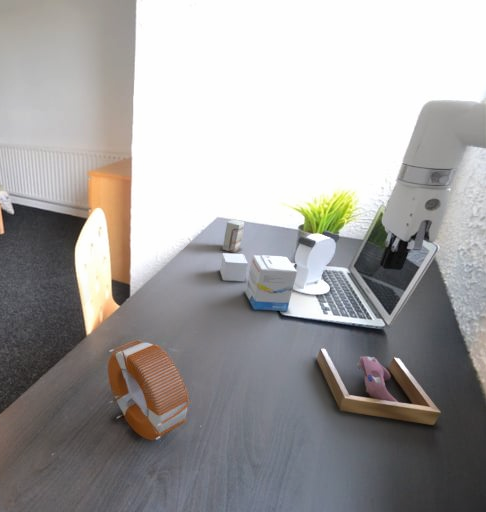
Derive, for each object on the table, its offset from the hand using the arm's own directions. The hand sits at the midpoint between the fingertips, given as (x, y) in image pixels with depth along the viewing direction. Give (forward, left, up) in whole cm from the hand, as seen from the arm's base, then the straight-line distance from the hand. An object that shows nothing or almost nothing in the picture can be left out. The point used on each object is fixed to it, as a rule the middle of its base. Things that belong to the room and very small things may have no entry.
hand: (390, 267), depth 73 cm
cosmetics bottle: (+22, -47, -19) cm, 55 cm away
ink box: (+17, -14, -19) cm, 29 cm away
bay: (+4, +14, -19) cm, 24 cm away
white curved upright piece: (+4, -26, -19) cm, 33 cm away
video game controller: (+3, +15, -19) cm, 24 cm away
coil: (+45, +31, -19) cm, 58 cm away
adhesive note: (+24, -27, -19) cm, 41 cm away
